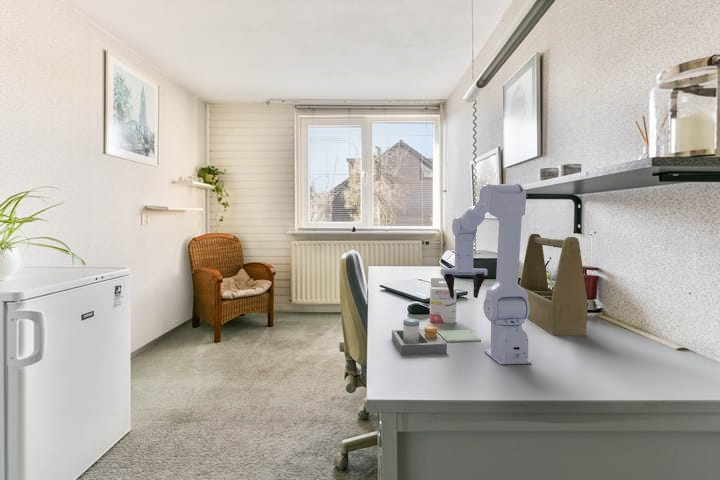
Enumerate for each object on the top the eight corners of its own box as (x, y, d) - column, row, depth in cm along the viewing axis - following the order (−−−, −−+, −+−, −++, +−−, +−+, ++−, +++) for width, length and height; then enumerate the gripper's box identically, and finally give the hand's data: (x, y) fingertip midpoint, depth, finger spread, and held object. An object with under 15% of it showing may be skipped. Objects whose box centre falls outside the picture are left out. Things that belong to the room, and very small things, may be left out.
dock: (446, 353, 100) (446, 343, 100) (401, 354, 99) (401, 345, 99) (431, 337, 114) (431, 329, 114) (391, 338, 113) (391, 330, 112)
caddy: (588, 336, 115) (590, 236, 113) (551, 335, 115) (553, 236, 114) (546, 313, 144) (548, 233, 143) (517, 313, 145) (519, 233, 143)
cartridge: (421, 348, 104) (421, 322, 104) (405, 348, 104) (405, 323, 103) (417, 343, 108) (417, 318, 108) (401, 343, 108) (401, 319, 108)
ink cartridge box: (430, 322, 130) (431, 279, 130) (429, 319, 135) (429, 277, 135) (456, 323, 130) (456, 280, 129) (454, 319, 134) (454, 278, 134)
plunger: (438, 339, 105) (439, 329, 105) (426, 340, 104) (426, 330, 104) (435, 335, 108) (435, 326, 108) (422, 336, 108) (422, 326, 108)
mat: (480, 341, 110) (480, 339, 110) (446, 342, 109) (446, 340, 109) (467, 331, 120) (467, 329, 120) (436, 332, 119) (436, 330, 119)
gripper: (482, 254, 127) (482, 295, 127) (438, 254, 127) (438, 295, 127) (489, 256, 120) (489, 299, 120) (443, 256, 120) (443, 299, 120)
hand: (463, 297), depth 123 cm, fingers open, 7 cm apart
